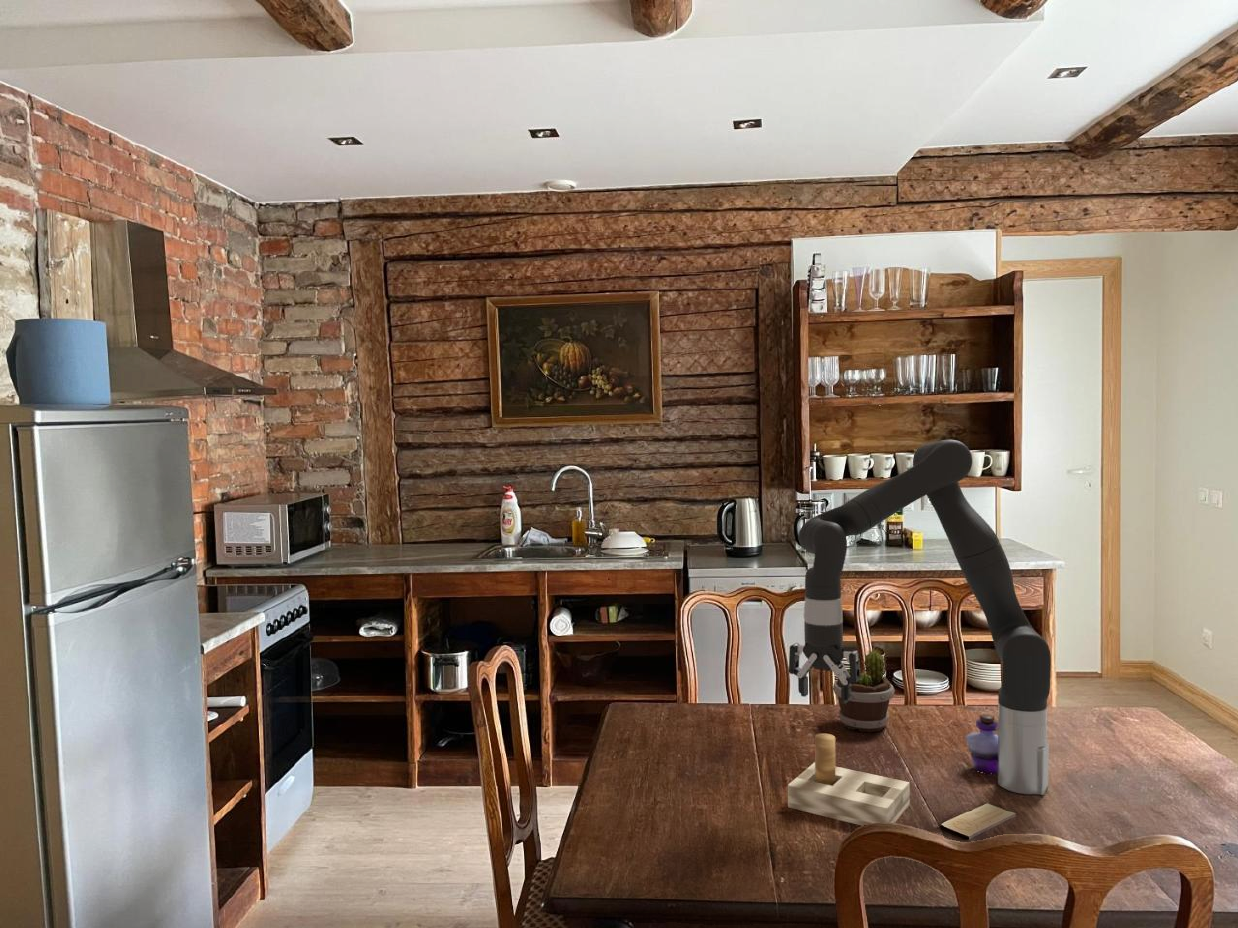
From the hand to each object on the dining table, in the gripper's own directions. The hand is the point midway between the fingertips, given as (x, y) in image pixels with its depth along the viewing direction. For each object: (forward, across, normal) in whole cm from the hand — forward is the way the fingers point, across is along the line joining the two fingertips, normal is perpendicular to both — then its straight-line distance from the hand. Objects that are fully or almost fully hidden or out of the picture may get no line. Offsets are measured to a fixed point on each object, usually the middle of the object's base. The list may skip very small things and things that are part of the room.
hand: (824, 698), depth 181 cm
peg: (+20, 0, 0) cm, 20 cm away
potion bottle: (+21, -24, -33) cm, 46 cm away
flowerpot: (+21, +8, -46) cm, 51 cm away
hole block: (+21, -5, 0) cm, 22 cm away
